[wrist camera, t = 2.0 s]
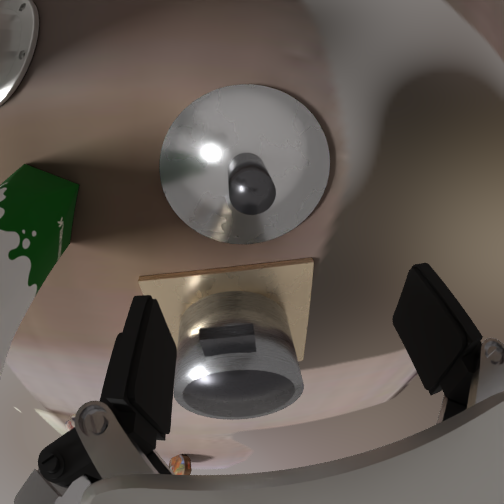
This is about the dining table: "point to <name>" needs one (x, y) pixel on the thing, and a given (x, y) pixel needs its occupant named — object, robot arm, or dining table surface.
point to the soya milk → (30, 240)
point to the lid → (244, 164)
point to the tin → (180, 465)
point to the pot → (236, 335)
